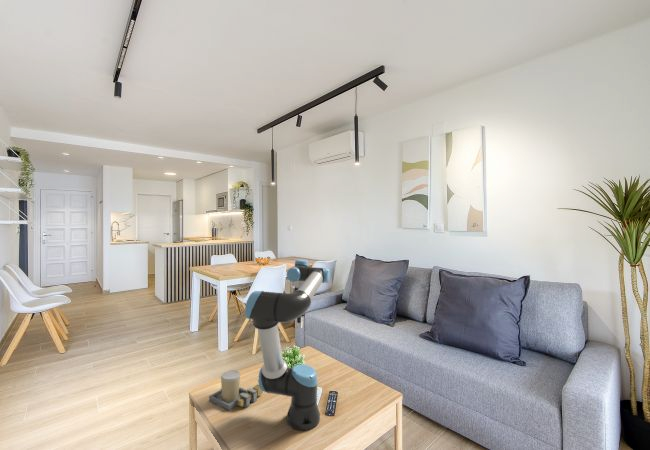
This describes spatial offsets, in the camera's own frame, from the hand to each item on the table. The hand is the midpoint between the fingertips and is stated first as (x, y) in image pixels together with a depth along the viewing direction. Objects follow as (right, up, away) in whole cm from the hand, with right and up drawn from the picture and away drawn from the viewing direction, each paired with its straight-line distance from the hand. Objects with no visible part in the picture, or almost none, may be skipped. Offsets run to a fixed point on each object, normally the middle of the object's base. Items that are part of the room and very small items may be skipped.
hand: (299, 327), depth 175 cm
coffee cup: (-33, -29, -21) cm, 49 cm away
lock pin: (-23, -28, -22) cm, 43 cm away
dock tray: (-31, -29, -22) cm, 48 cm away
